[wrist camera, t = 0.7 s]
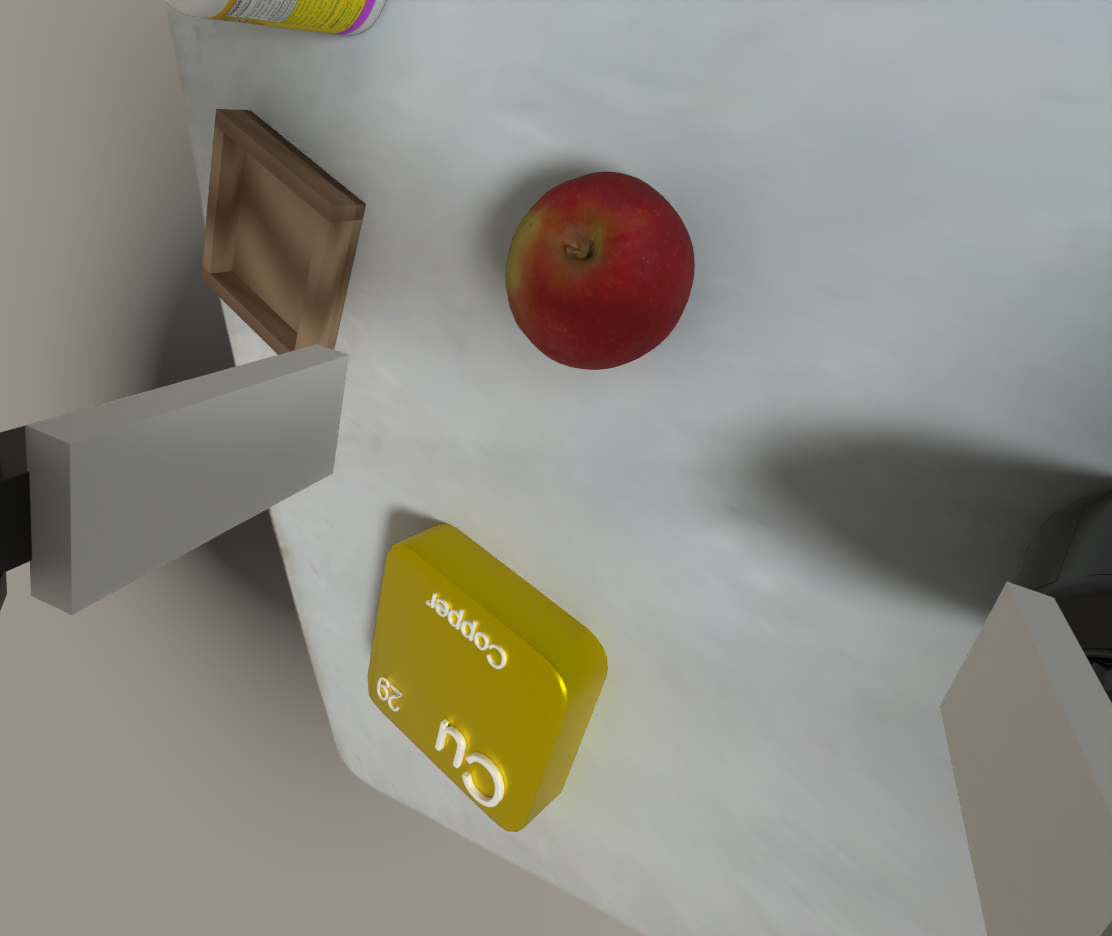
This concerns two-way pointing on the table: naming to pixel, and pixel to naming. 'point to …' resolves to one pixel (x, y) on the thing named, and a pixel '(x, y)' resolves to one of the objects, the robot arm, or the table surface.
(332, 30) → the supplement bottle
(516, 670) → the element tile
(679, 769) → the table surface
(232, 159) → the walnut tray
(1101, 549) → the supplement bottle
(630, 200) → the apple
